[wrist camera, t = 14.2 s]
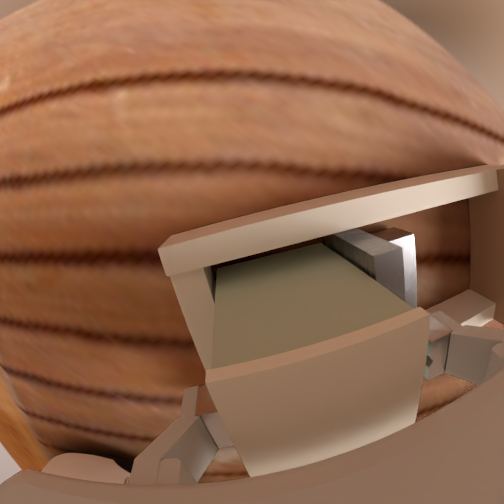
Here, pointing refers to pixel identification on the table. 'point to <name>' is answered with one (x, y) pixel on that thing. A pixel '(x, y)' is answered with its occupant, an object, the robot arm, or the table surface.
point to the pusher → (381, 258)
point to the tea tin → (311, 358)
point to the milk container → (90, 467)
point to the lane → (340, 219)
